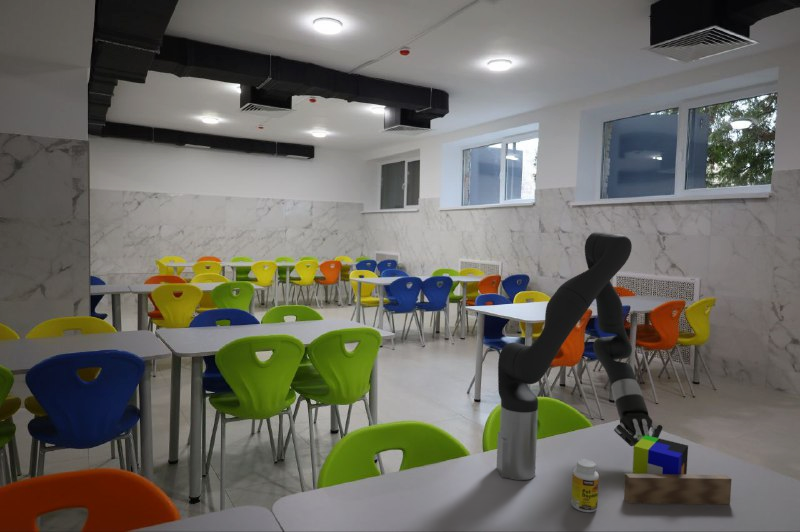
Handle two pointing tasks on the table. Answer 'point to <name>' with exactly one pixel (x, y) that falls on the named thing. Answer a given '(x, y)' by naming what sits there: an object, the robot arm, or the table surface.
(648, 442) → the puzzle toy
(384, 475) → the table surface
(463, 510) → the table surface
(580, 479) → the supplement bottle
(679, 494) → the board
